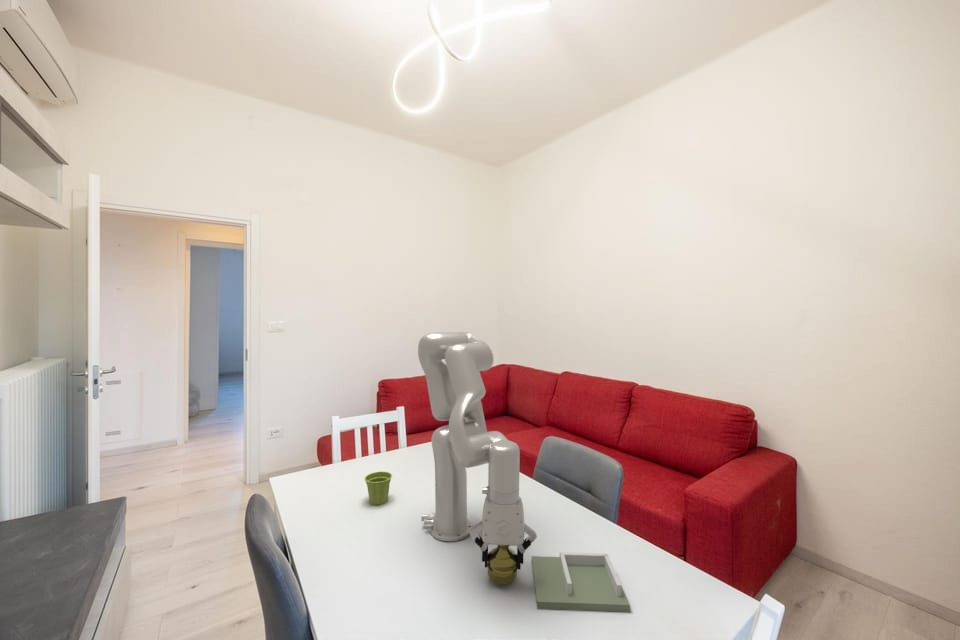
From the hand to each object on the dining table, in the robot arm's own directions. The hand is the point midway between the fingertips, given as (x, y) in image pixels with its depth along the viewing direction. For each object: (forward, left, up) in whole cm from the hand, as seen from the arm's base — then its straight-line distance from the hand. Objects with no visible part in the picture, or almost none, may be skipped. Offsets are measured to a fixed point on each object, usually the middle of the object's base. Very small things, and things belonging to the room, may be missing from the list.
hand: (502, 564), depth 93 cm
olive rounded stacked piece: (0, 0, -3) cm, 3 cm away
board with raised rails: (+18, -1, -4) cm, 18 cm away
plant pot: (-43, +38, -4) cm, 58 cm away
